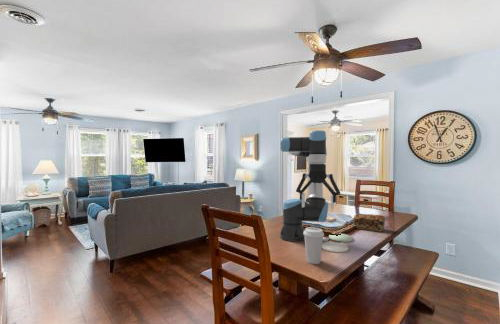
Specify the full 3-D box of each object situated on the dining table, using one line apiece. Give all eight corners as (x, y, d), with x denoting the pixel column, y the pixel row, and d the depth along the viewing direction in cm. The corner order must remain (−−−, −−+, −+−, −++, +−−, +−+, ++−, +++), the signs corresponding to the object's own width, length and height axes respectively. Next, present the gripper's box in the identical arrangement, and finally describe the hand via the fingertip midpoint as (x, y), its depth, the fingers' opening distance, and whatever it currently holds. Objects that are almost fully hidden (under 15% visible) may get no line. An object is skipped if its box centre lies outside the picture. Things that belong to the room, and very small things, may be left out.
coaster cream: (318, 249, 132) (318, 247, 132) (324, 241, 144) (324, 240, 144) (346, 254, 125) (346, 253, 125) (350, 246, 137) (350, 244, 137)
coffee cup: (328, 262, 116) (328, 230, 116) (314, 267, 111) (314, 234, 111) (312, 255, 124) (312, 225, 124) (298, 260, 119) (298, 229, 118)
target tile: (315, 240, 147) (315, 239, 147) (318, 237, 153) (318, 235, 153) (327, 242, 143) (327, 241, 143) (329, 238, 149) (329, 237, 149)
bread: (385, 229, 170) (385, 214, 170) (383, 233, 161) (383, 217, 161) (355, 225, 180) (355, 211, 180) (352, 228, 171) (352, 214, 171)
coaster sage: (326, 239, 148) (326, 238, 148) (331, 233, 160) (331, 232, 160) (351, 243, 141) (351, 242, 141) (354, 236, 153) (354, 235, 153)
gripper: (289, 163, 120) (289, 207, 120) (344, 163, 108) (344, 212, 109) (294, 163, 127) (294, 204, 127) (346, 163, 115) (346, 209, 115)
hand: (317, 208), depth 118 cm, fingers open, 13 cm apart
